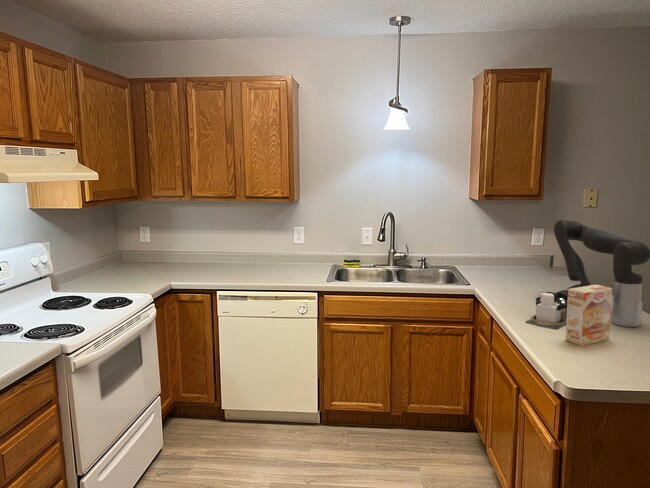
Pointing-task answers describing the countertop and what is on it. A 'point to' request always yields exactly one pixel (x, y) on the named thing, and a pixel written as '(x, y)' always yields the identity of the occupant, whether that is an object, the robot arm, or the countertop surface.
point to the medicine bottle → (548, 308)
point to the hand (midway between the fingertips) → (547, 306)
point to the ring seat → (548, 325)
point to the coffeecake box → (588, 314)
